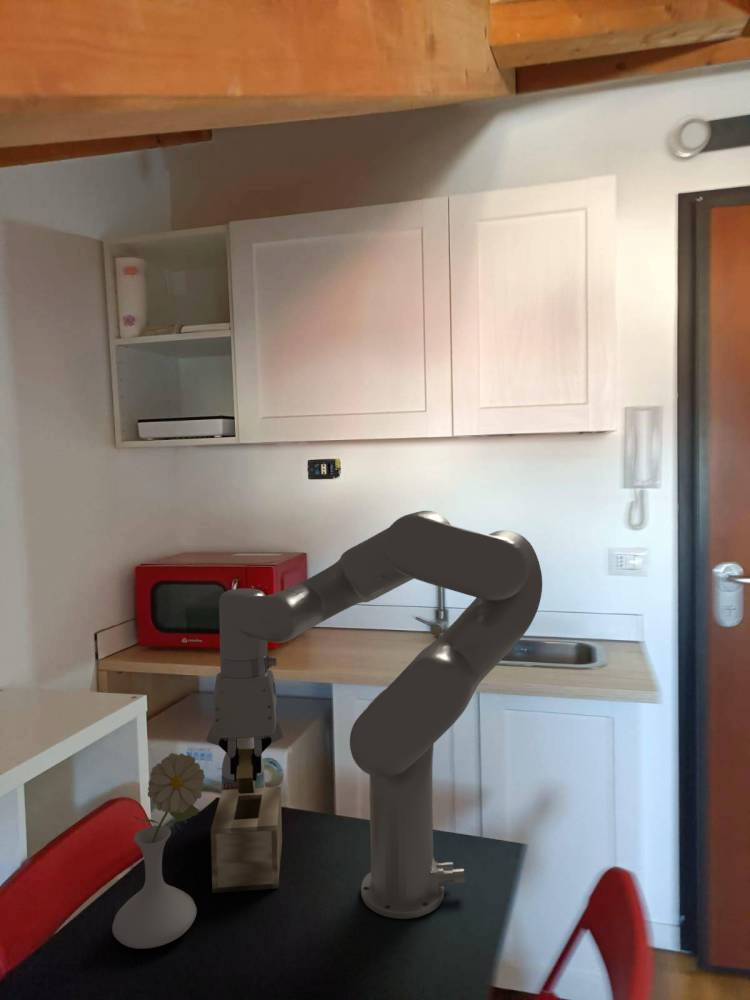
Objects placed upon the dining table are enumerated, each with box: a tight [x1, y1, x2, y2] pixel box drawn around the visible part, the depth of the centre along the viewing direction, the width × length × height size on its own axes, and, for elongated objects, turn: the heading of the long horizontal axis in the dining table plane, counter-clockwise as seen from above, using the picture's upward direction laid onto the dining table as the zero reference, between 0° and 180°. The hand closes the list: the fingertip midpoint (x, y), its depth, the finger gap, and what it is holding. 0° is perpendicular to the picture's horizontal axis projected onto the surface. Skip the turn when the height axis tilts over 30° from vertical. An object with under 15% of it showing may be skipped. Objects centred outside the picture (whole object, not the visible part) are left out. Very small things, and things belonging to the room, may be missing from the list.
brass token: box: [236, 748, 255, 794], centre depth 111 cm, size 2×5×5 cm
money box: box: [210, 786, 283, 894], centre depth 111 cm, size 10×13×10 cm
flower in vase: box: [111, 752, 206, 950], centre depth 96 cm, size 13×11×25 cm
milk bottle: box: [221, 738, 266, 791], centre depth 123 cm, size 8×8×20 cm
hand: (246, 776), depth 111 cm, fingers closed on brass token, 2 cm apart
